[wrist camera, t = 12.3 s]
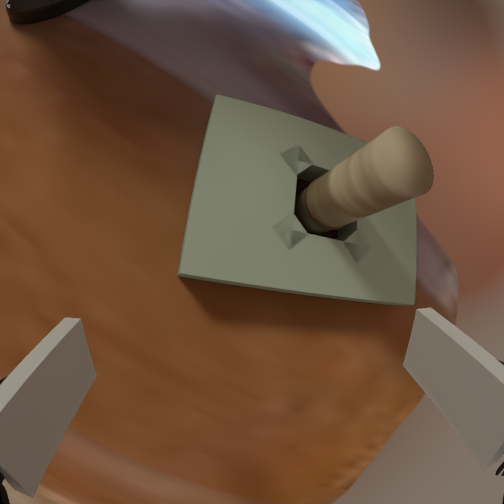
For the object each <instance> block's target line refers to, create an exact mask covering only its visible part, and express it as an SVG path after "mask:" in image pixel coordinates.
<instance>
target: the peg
mask: <svg viewBox="0 0 504 504" xmlns="http://www.w3.org/2000/svg"><path fill="white" fill-rule="evenodd" d="M433 176H434V174H433V167H432V163H431V160H430V157H429V155H428V153H427V151H426V149H425V147H424V146H423V144H422V143H421V142H420V140H419V139H418V138H417V137H416V136H415V135H414V134H413V133H411V132H410V131H409V130H407V129H405V128H402V127H398V126H394V127H391V128H389V129H387V130H386V131H385V132H383V133H382V134H380V135H379V136H378V137H376V138H375V139H373V140H372V141H370V142H369V143H368V144H366V145H365V146H363V147H362V148H360V149H359V150H358V151H356V152H355V153H353V154H352V155H351V156H349V157H348V158H346V159H345V160H344V161H342V162H341V163H339V164H338V165H337V166H335V167H334V168H332V169H331V170H330V171H328V172H327V173H325V174H324V175H323V176H321V177H319V178H317V179H315V180H314V181H313V182H311V183H310V185H309V186H308V187H306V188H305V189H303V190H302V191H301V192H300V193H299V194H298V195H297V197H296V200H295V206H294V215H295V216H296V218H297V219H298V220H299V222H300V223H301V225H302V226H303V228H304V229H305V230H306V231H307V232H310V233H315V234H323V233H326V232H329V231H331V230H336V229H339V228H342V227H344V226H346V225H347V224H349V223H352V222H354V221H357V220H359V219H362V218H365V217H367V216H370V215H372V214H375V213H377V212H380V211H382V210H385V209H387V208H390V207H392V206H395V205H398V204H400V203H403V202H405V201H408V200H410V199H413V198H415V197H418V196H420V195H423V194H425V193H427V192H428V191H429V190H430V189H431V187H432V184H433V179H434V177H433Z"/></svg>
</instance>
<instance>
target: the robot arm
mask: <svg viewBox="0 0 504 504" xmlns="http://www.w3.org/2000/svg"><path fill="white" fill-rule="evenodd" d="M86 1H88V0H6V10H7V13H8V16H9V19H10V20H11V21H12V22H14V23H19V24H25V23H33V22H37V21H41V20H45V19H48V18H51V17H54V16H57V15H59V14H62V13H64V12H66V11H69V10H71V9H73V8H75V7H77V6H79V5H81V4H83V3H85V2H86ZM403 366H404V367H405V369H406V370H407V371H408V372H409V374H410V375H411V376H412V377H413V378H414V380H415V381H416V382H417V383H418V385H419V386H420V387H421V388H422V390H423V391H424V392H425V393H426V395H427V396H428V397H429V398H430V400H431V401H432V402H433V403H434V405H435V406H436V407H437V409H438V410H439V411H440V412H441V414H442V415H443V416H444V417H445V419H446V420H447V421H448V423H449V424H450V425H451V427H452V428H453V429H454V430H455V432H456V433H457V434H458V436H459V437H460V438H461V440H462V441H463V442H464V444H465V445H466V446H467V448H468V449H469V450H470V452H471V453H472V455H473V456H474V457H475V459H476V460H477V461H478V463H479V464H480V465H481V466H482V468H483V469H485V468H487V467H489V466H490V465H492V464H493V463H495V462H496V461H498V460H499V459H500V457H501V456H502V455H503V453H504V363H503V362H501V361H499V360H497V359H496V358H494V357H493V356H492V355H491V354H489V353H488V352H487V351H486V350H485V349H483V348H482V347H481V346H480V345H478V344H477V343H476V342H475V341H473V340H472V339H470V337H468V336H467V335H466V334H465V333H463V332H462V331H461V330H459V329H458V328H457V327H456V326H454V325H453V324H452V323H450V322H449V321H448V320H447V319H445V318H444V317H443V316H441V315H440V314H439V313H437V312H436V311H435V310H433V309H432V308H431V307H430V308H422V309H416V314H415V319H414V323H413V328H412V332H411V336H410V340H409V344H408V348H407V352H406V355H405V359H404V363H403ZM96 377H97V375H96V372H95V369H94V366H93V363H92V359H91V356H90V352H89V349H88V345H87V341H86V338H85V334H84V330H83V326H82V321H81V319H78V318H66V317H65V318H64V319H63V320H62V321H61V322H60V323H59V324H58V325H57V326H56V327H55V328H54V329H53V330H52V331H51V332H50V333H49V334H48V335H47V336H46V337H45V338H44V339H43V340H42V341H41V342H40V343H39V344H38V345H37V346H36V347H35V348H34V349H33V350H32V351H31V352H30V353H29V354H28V355H27V356H26V357H25V358H24V359H23V361H22V362H21V363H20V364H19V365H18V366H17V367H16V368H15V369H14V370H13V371H12V372H11V373H10V375H9V376H7V377H5V378H3V379H2V380H0V504H10V503H9V499H8V495H7V492H6V489H5V487H4V486H3V485H2V482H3V480H4V478H5V479H6V480H7V482H8V483H9V484H10V485H11V486H12V487H13V488H14V489H15V490H17V491H19V492H21V493H23V494H25V495H27V496H30V497H32V498H33V497H34V494H35V492H36V490H37V488H38V486H39V484H40V482H41V479H42V477H43V475H44V473H45V471H46V469H47V467H48V465H49V463H50V461H51V459H52V457H53V455H54V453H55V451H56V449H57V447H58V445H59V443H60V441H61V440H62V438H63V436H64V434H65V432H66V430H67V428H68V426H69V425H70V423H71V421H72V419H73V417H74V415H75V414H76V412H77V410H78V408H79V407H80V405H81V403H82V401H83V399H84V398H85V396H86V394H87V392H88V391H89V389H90V387H91V386H92V384H93V382H94V380H95V379H96ZM503 468H504V462H503V463H502V464H501V466H500V467H499V468H498V469H497V471H496V475H498V474H499V473H500V472H501V471H502V470H503ZM502 476H504V472H503V473H502ZM503 504H504V496H503Z"/></svg>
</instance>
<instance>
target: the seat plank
mask: <svg viewBox="0 0 504 504" xmlns="http://www.w3.org/2000/svg"><path fill="white" fill-rule="evenodd" d="M366 144H368V143H366V142H364V141H361V140H359V139H357V138H354V137H352V136H349V135H347V134H344V133H342V132H339V131H337V130H334V129H331V128H329V127H326V126H323V125H320V124H318V123H315V122H312V121H309V120H306V119H303V118H300V117H297V116H294V115H291V114H288V113H284V112H281V111H278V110H275V109H271V108H268V107H264V106H261V105H257V104H253V103H250V102H246V101H242V100H238V99H234V98H230V97H226V96H222V95H217V94H216V97H215V100H214V103H213V106H212V109H211V112H210V116H209V120H208V124H207V128H206V132H205V137H204V141H203V145H202V150H201V154H200V159H199V163H198V168H197V172H196V177H195V182H194V187H193V192H192V197H191V202H190V207H189V212H188V218H187V223H186V228H185V234H184V240H183V246H182V252H181V258H180V264H179V270H178V276H180V277H186V278H192V279H198V280H204V281H211V282H217V283H223V284H230V285H237V286H243V287H250V288H257V289H264V290H271V291H278V292H286V293H293V294H301V295H308V296H316V297H324V298H333V299H341V300H349V301H358V302H367V303H376V304H386V305H414V304H415V289H416V266H417V222H416V199H415V198H413V199H410V200H408V201H405V202H403V203H400V204H398V205H395V206H392V207H390V208H387V209H385V210H382V211H380V212H377V213H375V214H372V215H370V216H367V217H365V218H362V219H359V220H357V221H354V222H352V223H349V224H347V225H346V226H344V227H342V228H339V229H338V234H337V237H336V238H335V239H331V238H326V237H322V236H317V235H313V234H308V233H307V232H306V230H305V229H304V228H303V226H302V225H301V223H300V222H299V220H298V219H297V218H296V216H295V215H294V206H295V195H296V182H297V178H298V179H302V180H305V181H309V182H313V181H314V180H315V179H317V178H319V177H321V176H323V175H324V174H325V173H327V172H328V171H330V170H331V169H332V168H334V167H335V166H337V165H338V164H339V163H341V162H342V161H344V160H345V159H346V158H348V157H349V156H351V155H352V154H353V153H355V152H356V151H358V150H359V149H360V148H362V147H363V146H365V145H366Z"/></svg>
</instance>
